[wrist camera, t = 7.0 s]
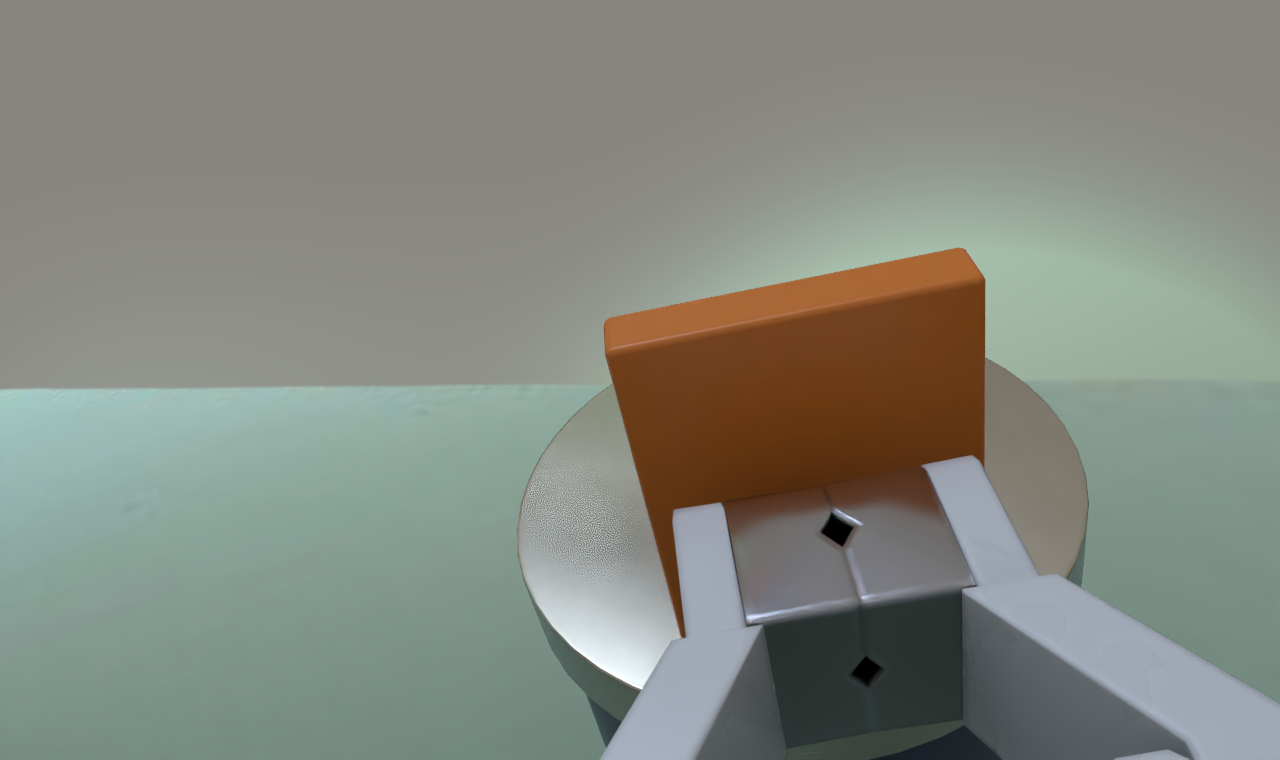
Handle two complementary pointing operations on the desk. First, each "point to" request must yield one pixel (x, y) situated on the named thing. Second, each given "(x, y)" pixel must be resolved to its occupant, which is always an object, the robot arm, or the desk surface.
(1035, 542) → the blue lidded canister
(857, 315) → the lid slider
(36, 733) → the desk surface
